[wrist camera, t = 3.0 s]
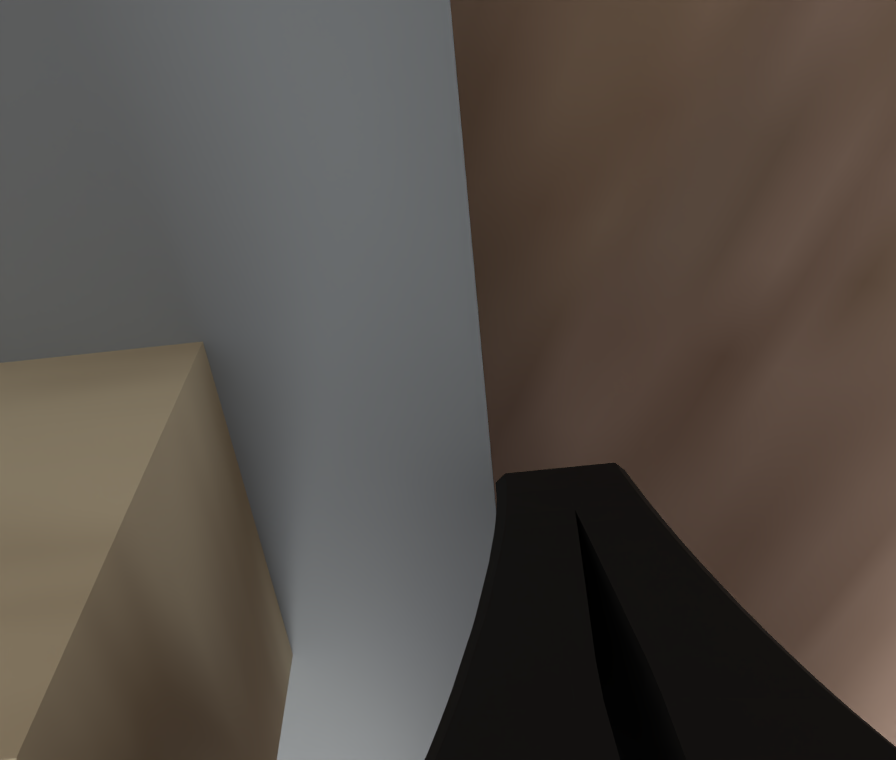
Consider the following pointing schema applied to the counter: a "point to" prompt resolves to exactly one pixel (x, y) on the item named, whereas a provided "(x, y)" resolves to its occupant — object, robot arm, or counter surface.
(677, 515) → the counter surface
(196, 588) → the wood block
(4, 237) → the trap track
